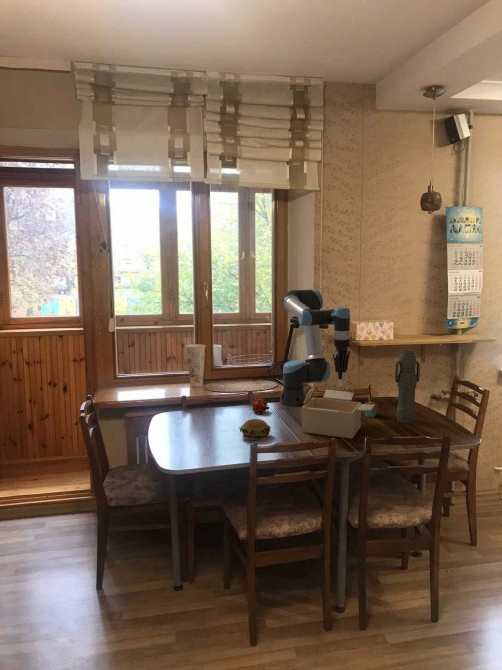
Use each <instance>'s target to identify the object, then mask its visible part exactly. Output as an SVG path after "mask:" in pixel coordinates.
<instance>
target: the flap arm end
mask: <svg viewBox="0 0 502 670" xmlns="http://www.w3.org/2000/svg"><path fill="white" fill-rule="evenodd" d="M314 391H315V387H313V386H312V388H311V389H309V390H308V391H307V393H306V398H305V400H304V402H303V405H305V403H306V402H308V401H310V400H311V399H312V398H311V397H312V395H313V393H314Z"/></svg>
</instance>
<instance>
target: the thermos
mask: <svg viewBox="0 0 502 670" xmlns="http://www.w3.org/2000/svg"><path fill="white" fill-rule="evenodd" d="M394 365H395V366H394V367H395V368H394V369H395V370H394V382H395V383H397V387H398V394H397V395H398V397H397V406H396V421H397V423H400V424H406V425H408V424H409V425H410V424H414V423H415V422H416V406H415V405H416V404H415V402H416V401H415V400H416V388H417V383H419V382H420V376H421V375H420V374H421V373H420V369H421V363H419V361H417V357H416V354H415V352H414V351H409V350H404V351H401V353H400V356H399V360H398V361H396V362H395V364H394Z"/></svg>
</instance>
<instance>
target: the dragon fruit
mask: <svg viewBox="0 0 502 670" xmlns="http://www.w3.org/2000/svg"><path fill="white" fill-rule="evenodd" d="M251 407H252V412H255V413H256V414H258V415H261V414H262V413H265V412H266V411H268V410H269V409H270V406H268V402H267V401H266V399H265V398H262V397H256V398H254V399H253V401H252V402H251Z"/></svg>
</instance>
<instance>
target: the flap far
mask: <svg viewBox="0 0 502 670" xmlns="http://www.w3.org/2000/svg"><path fill="white" fill-rule="evenodd" d="M354 394H355V392H353V391H345V390H334V389H326V390H325V391H324V394H323V397H322V399H332V400H341V401H351V402H352V400H353V398H354Z"/></svg>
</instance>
